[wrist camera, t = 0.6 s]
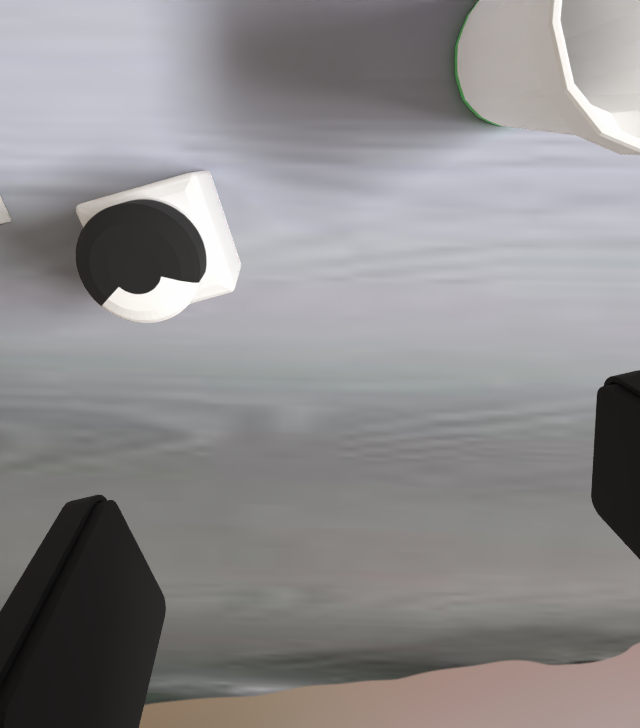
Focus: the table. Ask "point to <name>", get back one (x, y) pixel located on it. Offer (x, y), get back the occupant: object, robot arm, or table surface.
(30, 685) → the robot arm
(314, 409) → the table surface
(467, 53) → the cup
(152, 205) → the medicine bottle
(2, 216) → the socket
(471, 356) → the table surface
